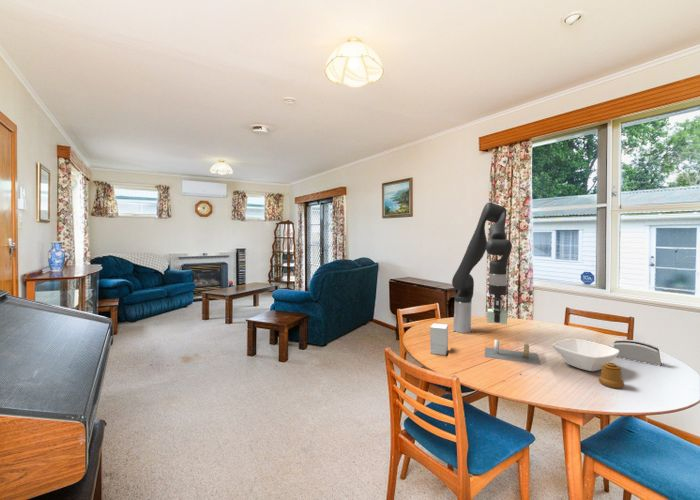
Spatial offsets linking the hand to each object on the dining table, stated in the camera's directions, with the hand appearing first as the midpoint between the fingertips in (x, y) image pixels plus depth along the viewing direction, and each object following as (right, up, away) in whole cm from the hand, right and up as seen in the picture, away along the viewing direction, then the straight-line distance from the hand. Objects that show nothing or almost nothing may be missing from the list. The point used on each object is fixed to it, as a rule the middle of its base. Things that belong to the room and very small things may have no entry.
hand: (496, 320), depth 153 cm
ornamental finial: (+30, -18, -28) cm, 45 cm away
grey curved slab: (+60, -17, -4) cm, 62 cm away
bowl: (+32, -18, -11) cm, 38 cm away
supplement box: (-24, -17, +7) cm, 30 cm away
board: (+6, -17, -2) cm, 18 cm away
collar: (0, -1, 0) cm, 1 cm away
